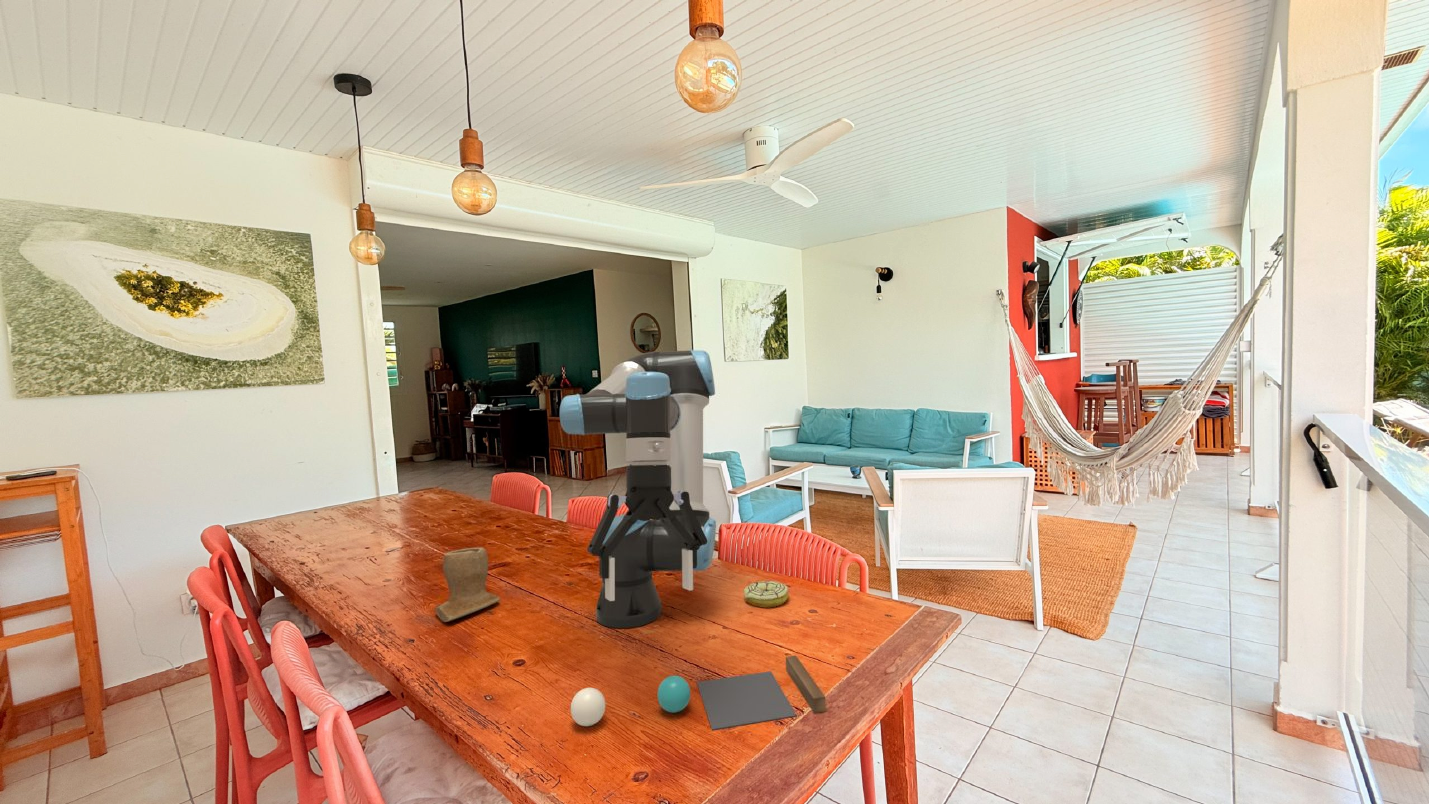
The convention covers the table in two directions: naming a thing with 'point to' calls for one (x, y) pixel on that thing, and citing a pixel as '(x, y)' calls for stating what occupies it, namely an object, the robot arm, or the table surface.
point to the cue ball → (587, 706)
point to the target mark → (744, 700)
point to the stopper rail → (806, 684)
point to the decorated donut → (766, 594)
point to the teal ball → (673, 694)
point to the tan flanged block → (465, 583)
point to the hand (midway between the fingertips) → (650, 594)
